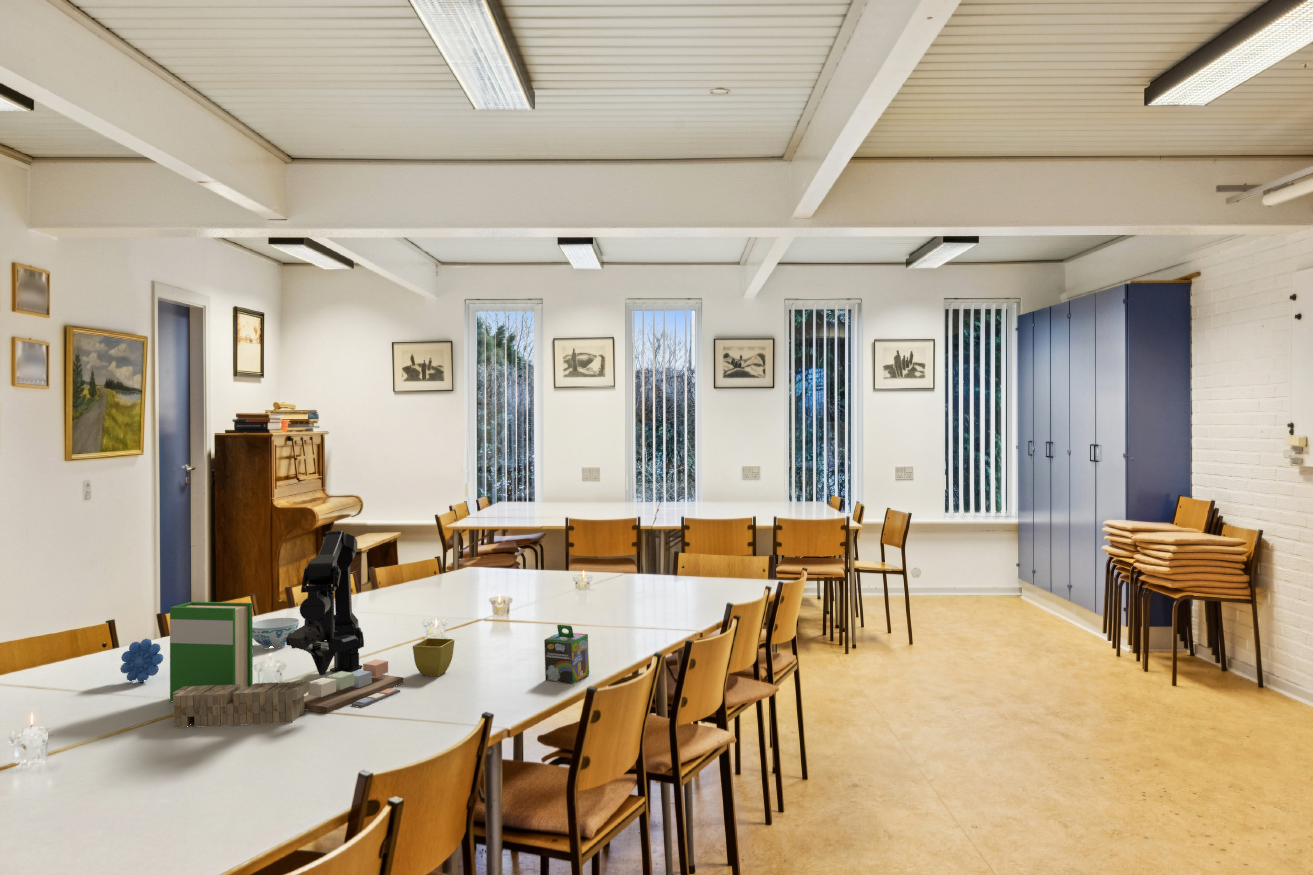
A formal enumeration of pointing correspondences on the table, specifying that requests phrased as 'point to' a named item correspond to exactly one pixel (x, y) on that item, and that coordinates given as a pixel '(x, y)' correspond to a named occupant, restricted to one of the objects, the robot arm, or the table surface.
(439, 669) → the flower pot
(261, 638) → the chinaware
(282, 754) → the table surface
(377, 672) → the key terracotta
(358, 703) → the strip
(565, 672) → the chalk box
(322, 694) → the key cream
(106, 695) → the table surface
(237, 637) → the hardback book
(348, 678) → the key sage
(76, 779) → the table surface
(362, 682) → the key slate
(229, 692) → the block tower
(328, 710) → the brown wooden board
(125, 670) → the blue flower ornament
